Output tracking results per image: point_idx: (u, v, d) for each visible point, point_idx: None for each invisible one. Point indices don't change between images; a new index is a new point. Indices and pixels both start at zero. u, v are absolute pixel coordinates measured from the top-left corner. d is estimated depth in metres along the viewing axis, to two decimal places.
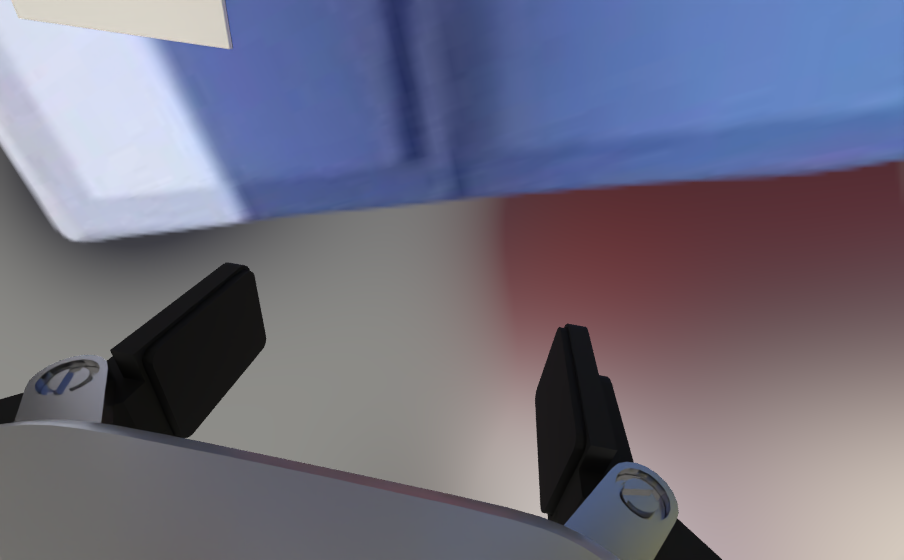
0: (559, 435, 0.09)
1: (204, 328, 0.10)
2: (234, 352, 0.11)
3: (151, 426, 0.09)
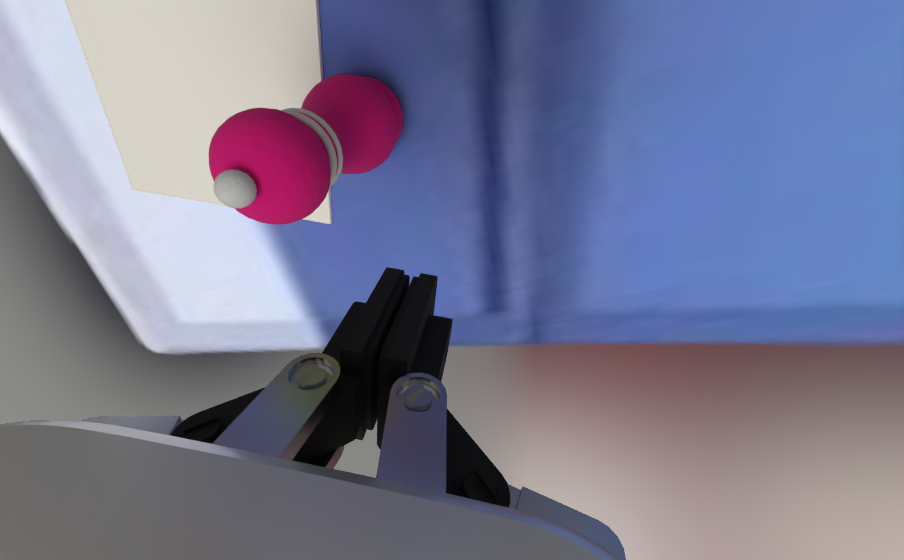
0: None
1: (389, 328, 0.10)
2: None
3: (358, 419, 0.09)
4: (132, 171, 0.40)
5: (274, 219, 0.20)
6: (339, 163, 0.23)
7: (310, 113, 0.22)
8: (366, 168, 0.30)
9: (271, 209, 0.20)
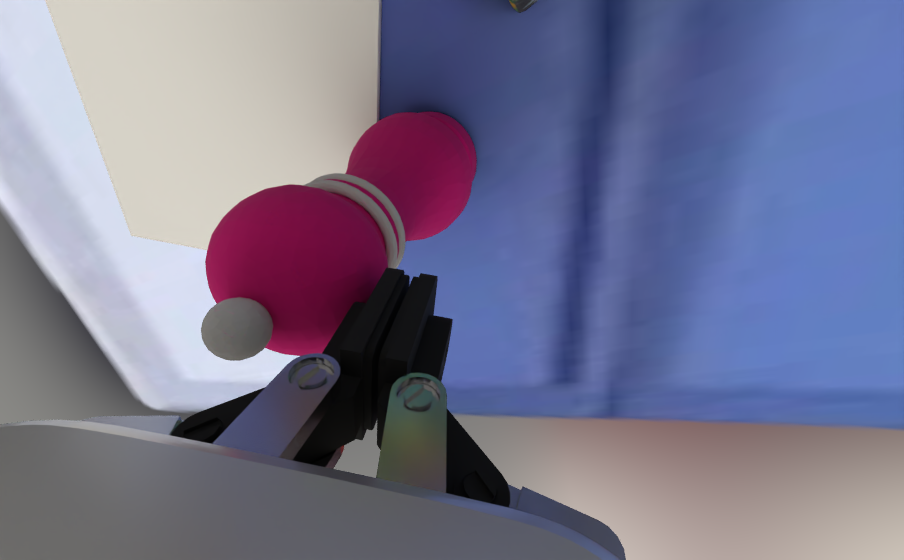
0: None
1: (389, 329, 0.10)
2: None
3: (358, 419, 0.09)
4: (131, 215, 0.33)
5: (299, 354, 0.13)
6: (399, 252, 0.16)
7: (364, 183, 0.15)
8: (428, 236, 0.22)
9: (295, 347, 0.12)
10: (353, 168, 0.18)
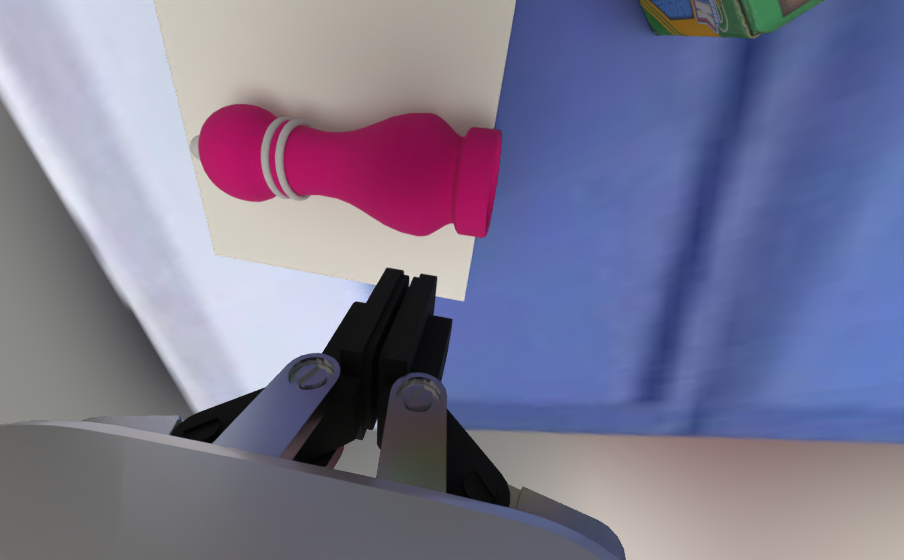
0: None
1: (389, 329, 0.10)
2: None
3: (358, 418, 0.09)
4: (218, 234, 0.32)
5: None
6: (276, 172, 0.23)
7: (288, 122, 0.23)
8: (376, 219, 0.23)
9: None
10: None
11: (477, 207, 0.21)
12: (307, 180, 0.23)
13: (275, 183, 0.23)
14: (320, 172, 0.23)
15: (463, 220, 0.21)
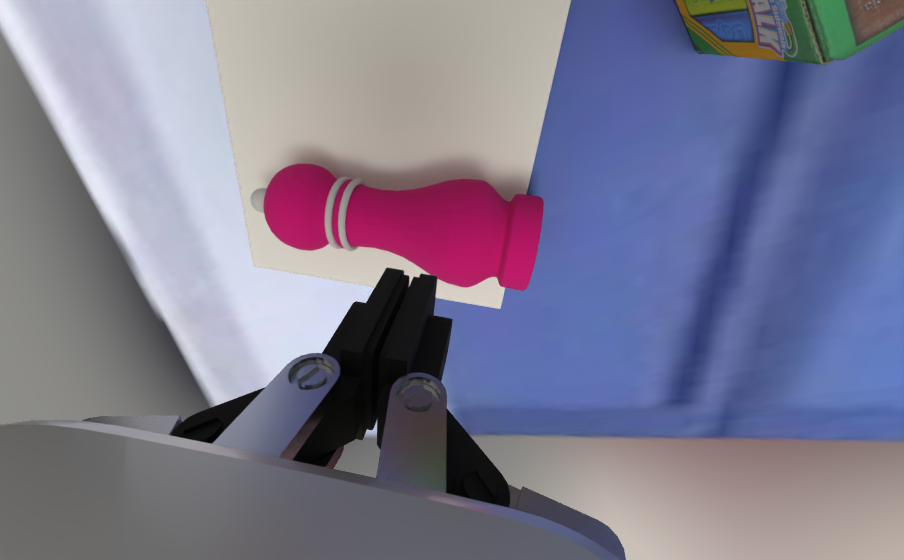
0: None
1: (389, 329, 0.10)
2: None
3: (358, 418, 0.09)
4: (258, 246, 0.33)
5: None
6: (345, 248, 0.27)
7: (339, 212, 0.24)
8: None
9: None
10: (395, 194, 0.25)
11: (517, 289, 0.26)
12: (371, 247, 0.27)
13: None
14: (382, 248, 0.26)
15: None
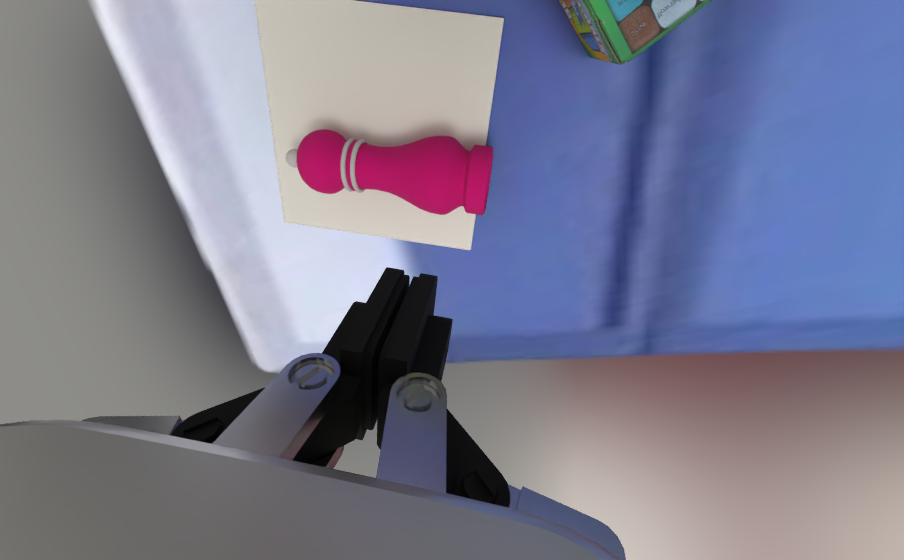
0: None
1: (389, 329, 0.10)
2: None
3: (358, 418, 0.09)
4: (288, 206, 0.44)
5: None
6: (352, 186, 0.36)
7: (351, 152, 0.35)
8: None
9: None
10: None
11: (478, 209, 0.35)
12: (371, 187, 0.37)
13: (352, 189, 0.37)
14: (379, 184, 0.36)
15: (470, 212, 0.36)
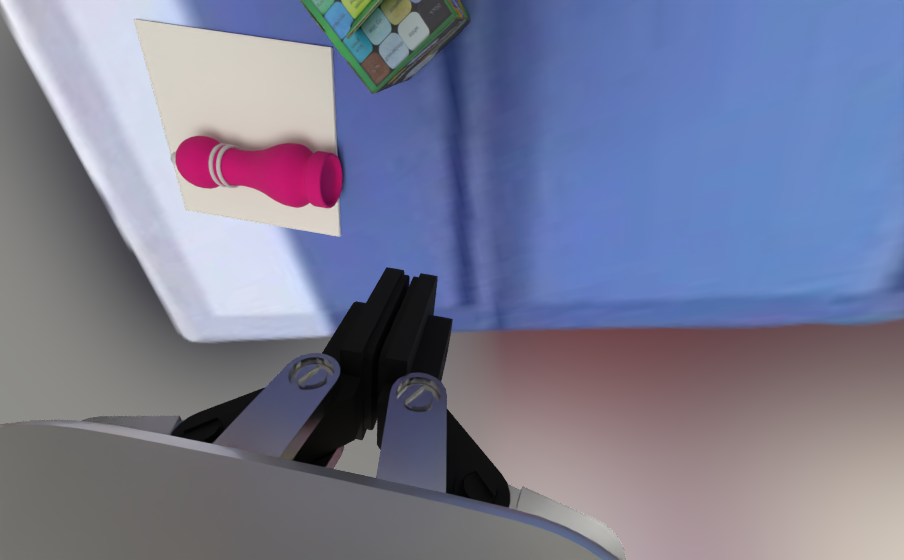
0: None
1: (389, 329, 0.10)
2: None
3: (358, 419, 0.09)
4: (187, 196, 0.52)
5: None
6: (223, 183, 0.45)
7: (216, 157, 0.43)
8: None
9: None
10: (252, 151, 0.44)
11: (320, 205, 0.44)
12: (239, 184, 0.45)
13: (225, 185, 0.46)
14: (244, 183, 0.45)
15: (318, 206, 0.45)
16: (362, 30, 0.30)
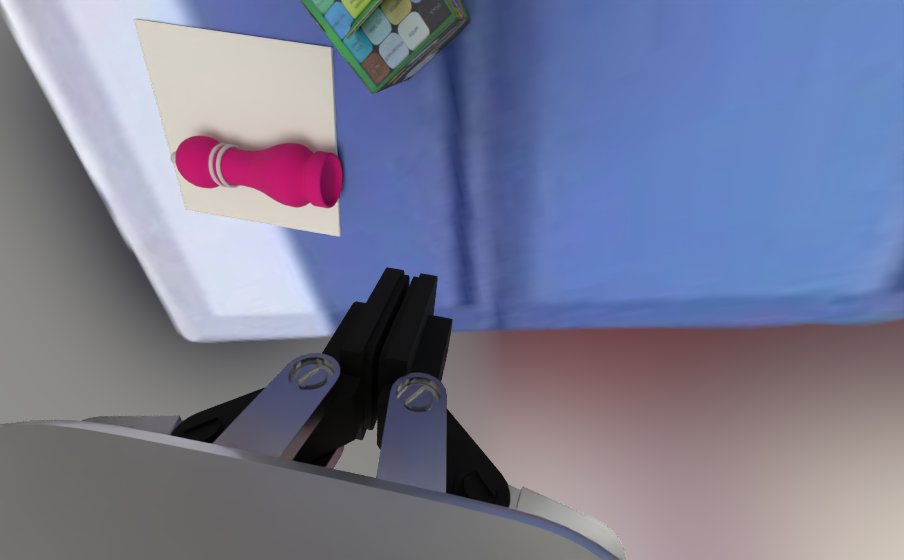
0: None
1: (389, 329, 0.10)
2: None
3: (358, 418, 0.09)
4: (187, 196, 0.52)
5: None
6: (223, 183, 0.45)
7: (216, 157, 0.43)
8: None
9: None
10: (252, 151, 0.44)
11: (320, 204, 0.44)
12: (239, 184, 0.45)
13: (225, 185, 0.46)
14: (244, 182, 0.45)
15: (318, 206, 0.45)
16: (362, 30, 0.30)
